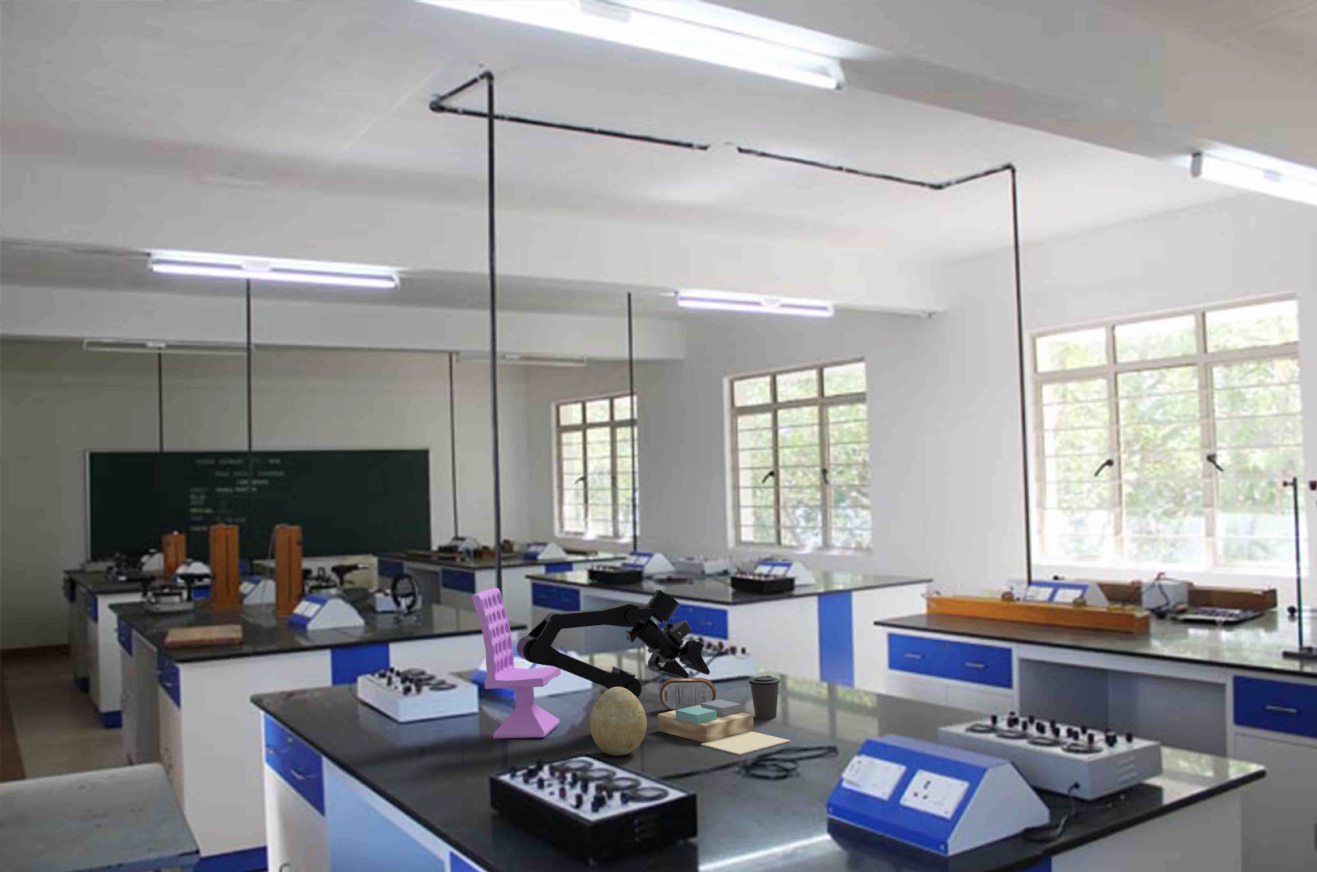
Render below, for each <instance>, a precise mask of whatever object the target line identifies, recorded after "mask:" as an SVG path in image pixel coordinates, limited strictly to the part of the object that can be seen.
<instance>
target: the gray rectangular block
mask: <svg viewBox="0 0 1317 872" xmlns="http://www.w3.org/2000/svg"><path fill="white" fill-rule="evenodd" d="M701 707H702V708H706V709H711V710H715V711H717V715H719V716H723V717H724V716H728V715H732V714H737V713H741V712H742V710H743V709H742V703H738V702H735V701H733V702H732V701H728V700H723V699H715V700H714V701H710V702H705V703H701ZM742 713H743V712H742Z"/></svg>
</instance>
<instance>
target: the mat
mask: <svg viewBox="0 0 1317 872" xmlns="http://www.w3.org/2000/svg"><path fill="white" fill-rule="evenodd" d="M789 742H791V740H789V739H785V738H783V737H782V738H781V737H778V736H777V737H776V736H774V735H769V734H765V733H764V734H763V733H762V732H761V733H760V732H756V731H754V732H752V731H750V732H746V733H742V734H738V735H734V736H730V737H726V738H722V739H718V740H714V741H710V742H706V743H704V742H701V743H700V746H703V747H707V748H710V749H714V750H718V751H722V752H725V753H730V754H734V755H737V756H742V755H745V754H749V753H752V752H756V751H760V750H764V749H767V748H772V747H775V746H779V745H783V744H787V743H789Z"/></svg>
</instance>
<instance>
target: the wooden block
mask: <svg viewBox="0 0 1317 872" xmlns="http://www.w3.org/2000/svg"><path fill="white" fill-rule="evenodd" d="M697 707H701V705H697ZM754 728H755V727H754V714H751V713H746V712H741V713H737V714H732V715H728V716H724V717H723V716H719V715H717V719H716V720H712V721H708V722H703V723H699V724H697V723H693V722H688V721H684V720H680V719H676V710H674V711H673V710H669V711H667V712H666V711H665V712H660V713H658V714H657V731H658V732H661V733H666V734H669V735H674V736H677V737H681V738H685V739H689V740H693V741H697V742H701V743H706V742H710V741H714V740H718V739H722V738H726V737H730V736H734V735H738V734H742V733H746V732H750V731H752V732H755V731H754V730H755V729H754Z"/></svg>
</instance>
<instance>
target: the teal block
mask: <svg viewBox="0 0 1317 872" xmlns="http://www.w3.org/2000/svg"><path fill="white" fill-rule="evenodd" d="M676 719H680V720H684V721H688V722H693V723H697V724H699V723H703V722H708V721H712V720H716V719H717V711H715V710H711V709H706V708H702V707H697V706H692V707H687V708H683V709H678V710H676Z"/></svg>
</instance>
